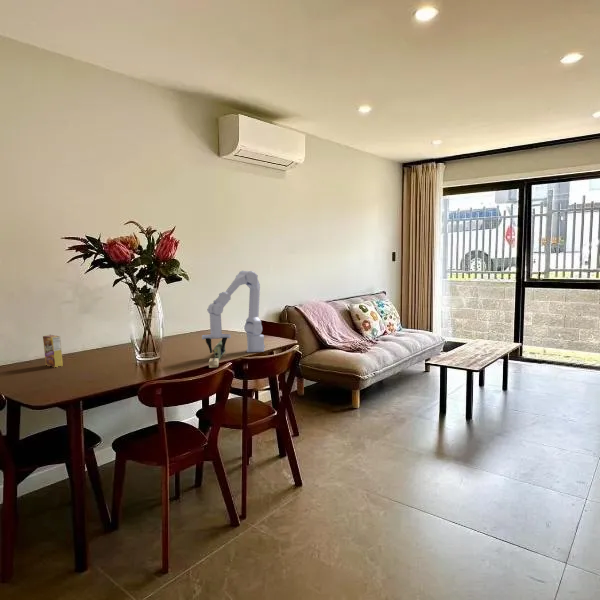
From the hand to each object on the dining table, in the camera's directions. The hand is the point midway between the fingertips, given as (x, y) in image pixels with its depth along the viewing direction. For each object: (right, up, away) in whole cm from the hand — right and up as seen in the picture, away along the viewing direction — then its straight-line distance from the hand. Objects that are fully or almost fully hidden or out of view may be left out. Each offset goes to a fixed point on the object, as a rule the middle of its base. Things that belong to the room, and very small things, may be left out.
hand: (217, 352), depth 237 cm
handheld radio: (+1, -3, +1) cm, 3 cm away
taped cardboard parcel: (0, -3, 0) cm, 3 cm away
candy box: (-79, -6, -10) cm, 80 cm away
